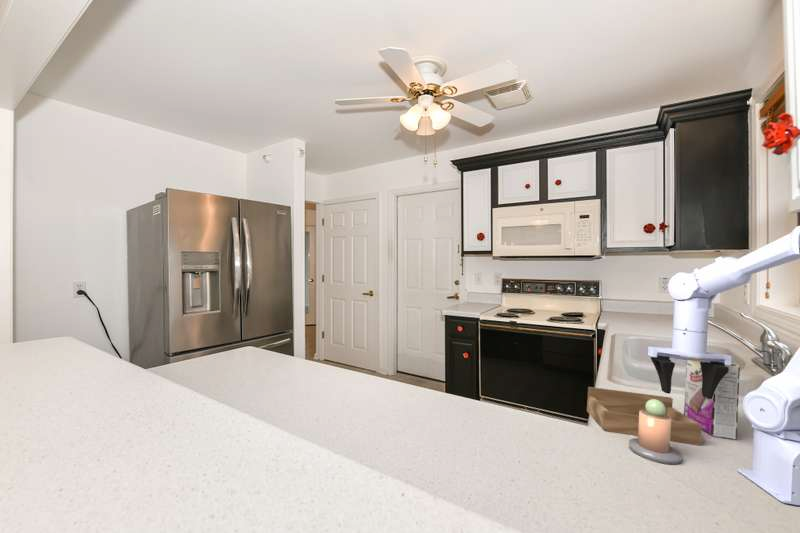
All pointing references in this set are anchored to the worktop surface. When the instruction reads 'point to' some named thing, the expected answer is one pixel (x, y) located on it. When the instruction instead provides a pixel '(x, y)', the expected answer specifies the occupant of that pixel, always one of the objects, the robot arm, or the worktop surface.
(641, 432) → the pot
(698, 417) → the candy bar box
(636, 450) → the saucer
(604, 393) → the tray
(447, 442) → the worktop surface
